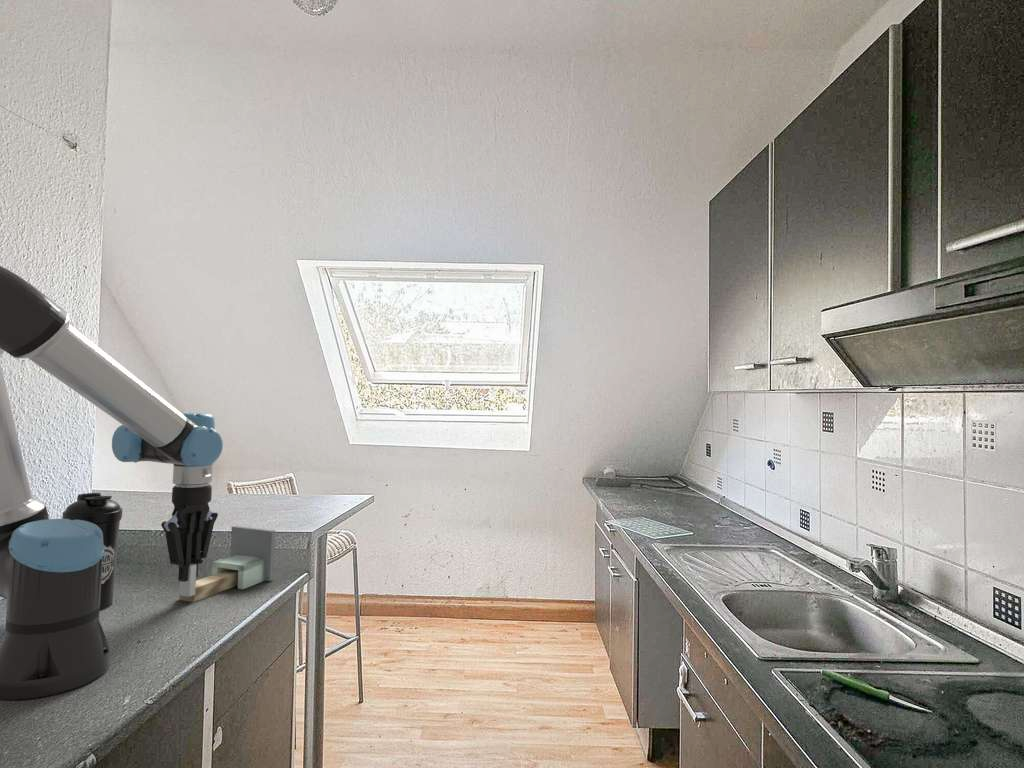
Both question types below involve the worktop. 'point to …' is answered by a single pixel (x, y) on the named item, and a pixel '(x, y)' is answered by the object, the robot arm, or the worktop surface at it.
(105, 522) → the water bottle
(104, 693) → the worktop surface
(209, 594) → the slat
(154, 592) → the worktop surface
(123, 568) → the worktop surface
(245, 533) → the end cap
